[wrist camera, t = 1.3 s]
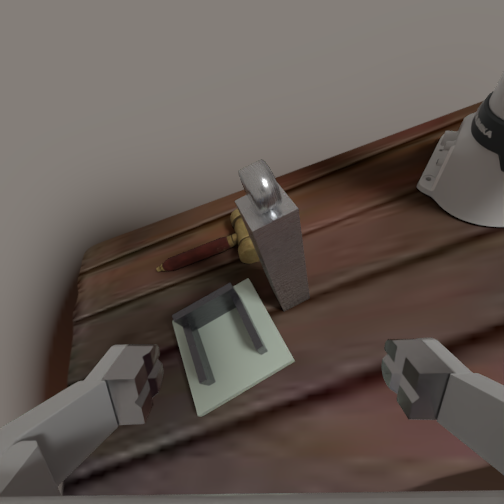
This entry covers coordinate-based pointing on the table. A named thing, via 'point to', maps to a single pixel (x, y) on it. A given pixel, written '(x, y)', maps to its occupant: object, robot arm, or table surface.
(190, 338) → the keeper bracket
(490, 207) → the robot arm
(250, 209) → the steel link
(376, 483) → the table surface
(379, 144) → the table surface
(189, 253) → the gavel
